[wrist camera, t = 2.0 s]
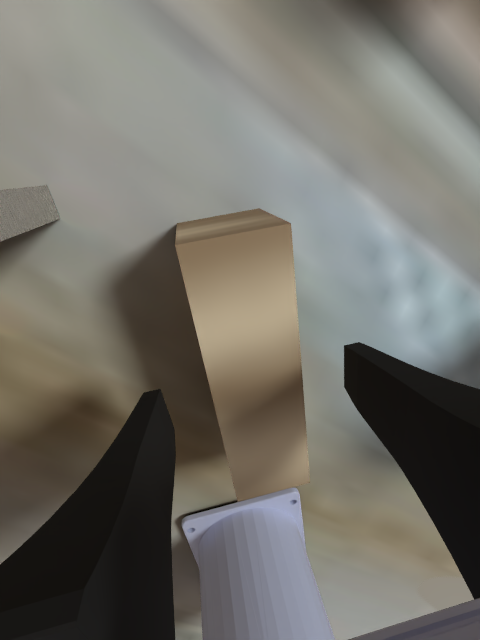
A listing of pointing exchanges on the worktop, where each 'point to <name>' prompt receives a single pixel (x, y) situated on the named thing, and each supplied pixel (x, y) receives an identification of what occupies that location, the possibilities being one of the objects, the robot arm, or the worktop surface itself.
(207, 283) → the maple rail
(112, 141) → the worktop surface
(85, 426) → the worktop surface
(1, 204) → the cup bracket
